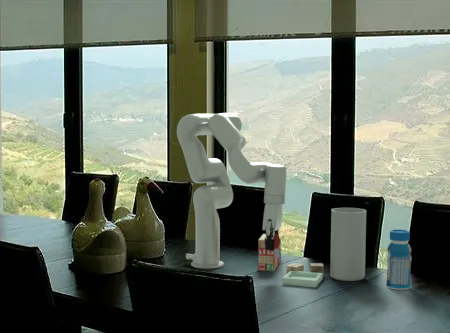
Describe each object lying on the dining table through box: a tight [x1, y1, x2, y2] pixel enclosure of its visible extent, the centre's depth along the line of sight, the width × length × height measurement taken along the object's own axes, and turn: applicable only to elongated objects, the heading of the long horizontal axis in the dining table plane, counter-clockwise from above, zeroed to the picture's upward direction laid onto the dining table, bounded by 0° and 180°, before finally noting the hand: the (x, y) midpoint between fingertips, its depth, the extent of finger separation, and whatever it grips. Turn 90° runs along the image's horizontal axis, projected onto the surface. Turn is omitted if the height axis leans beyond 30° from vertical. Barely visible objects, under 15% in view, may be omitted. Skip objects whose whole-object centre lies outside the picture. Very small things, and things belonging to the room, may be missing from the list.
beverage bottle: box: [386, 228, 412, 291], centre depth 250 cm, size 8×8×20 cm
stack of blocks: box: [257, 233, 282, 272], centre depth 285 cm, size 21×6×12 cm, turn 169°
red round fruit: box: [264, 232, 281, 251], centre depth 262 cm, size 6×6×8 cm
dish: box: [282, 271, 324, 288], centre depth 258 cm, size 12×12×2 cm
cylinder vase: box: [329, 207, 367, 282], centre depth 264 cm, size 12×12×25 cm
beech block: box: [285, 262, 305, 275], centre depth 268 cm, size 4×6×4 cm, turn 146°
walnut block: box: [309, 262, 325, 274], centre depth 266 cm, size 4×4×4 cm
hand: (271, 247), depth 262 cm, fingers closed on red round fruit, 5 cm apart
